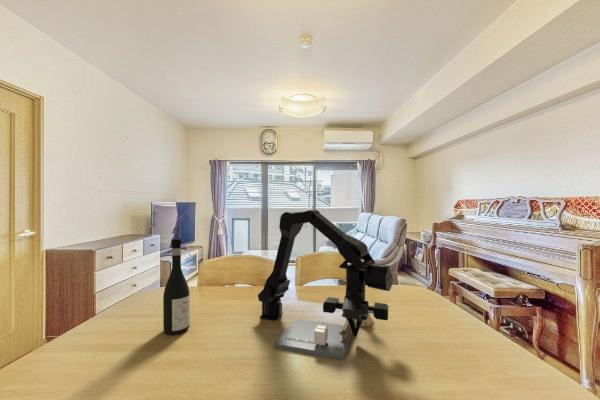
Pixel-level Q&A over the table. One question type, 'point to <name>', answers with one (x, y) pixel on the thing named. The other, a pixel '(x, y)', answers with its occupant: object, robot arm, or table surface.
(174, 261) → the wine bottle
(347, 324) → the door
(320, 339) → the fader
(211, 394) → the table surface
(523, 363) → the table surface
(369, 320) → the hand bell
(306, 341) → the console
